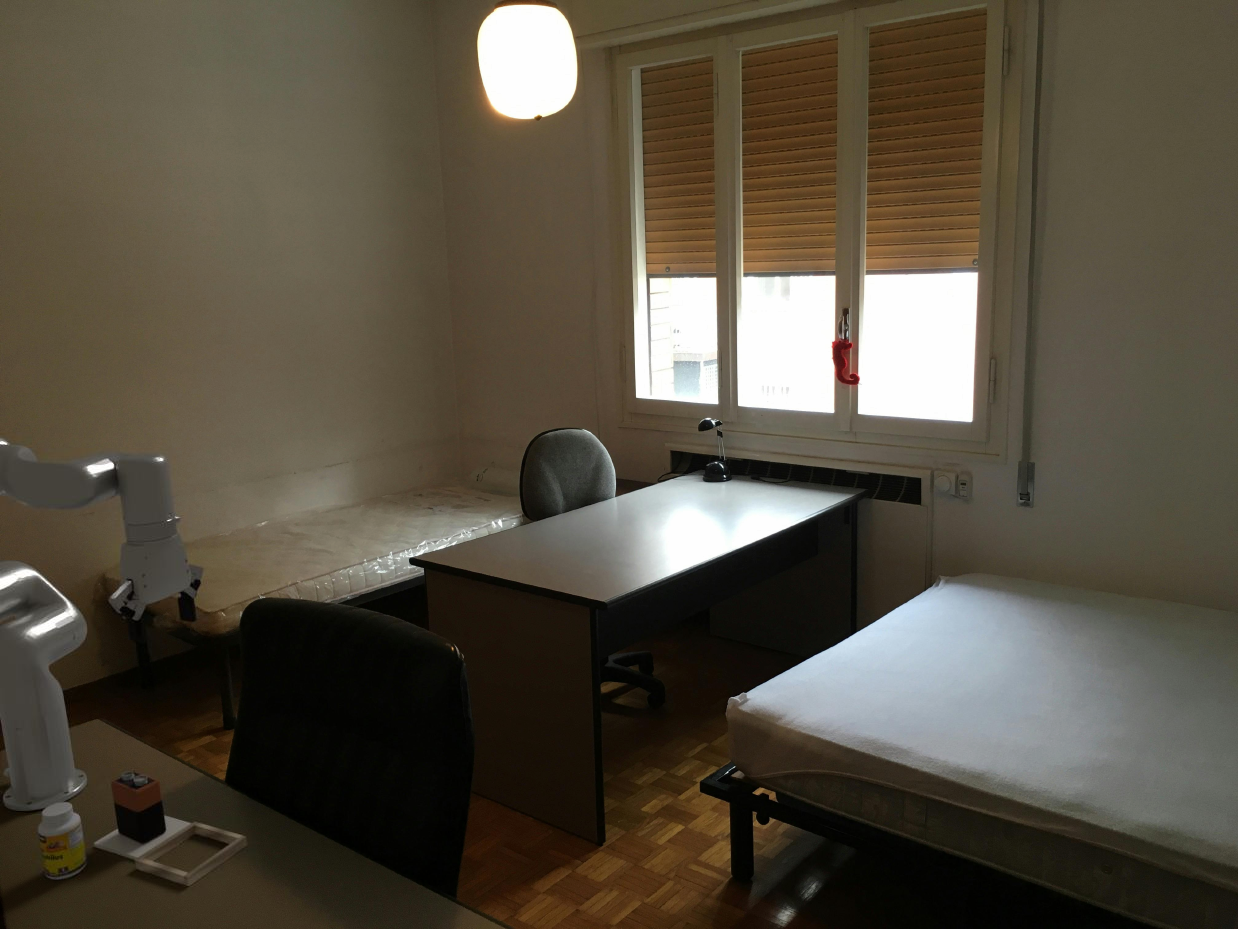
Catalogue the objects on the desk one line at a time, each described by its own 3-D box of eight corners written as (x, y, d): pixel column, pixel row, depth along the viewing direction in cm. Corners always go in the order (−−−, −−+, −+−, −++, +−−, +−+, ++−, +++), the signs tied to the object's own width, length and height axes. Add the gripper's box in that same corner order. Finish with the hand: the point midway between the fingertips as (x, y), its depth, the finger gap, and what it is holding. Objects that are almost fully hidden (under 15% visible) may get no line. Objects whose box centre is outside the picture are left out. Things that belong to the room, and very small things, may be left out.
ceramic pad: (94, 846, 152) (93, 843, 152) (148, 813, 160) (148, 810, 160) (138, 861, 147) (137, 857, 147) (191, 826, 156) (191, 823, 156)
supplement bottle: (36, 878, 144) (26, 816, 142) (67, 857, 149) (57, 796, 147) (65, 884, 142) (55, 821, 140) (96, 862, 147) (86, 801, 145)
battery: (142, 846, 150) (134, 787, 148) (117, 834, 154) (108, 776, 152) (168, 831, 154) (160, 774, 152) (142, 820, 157) (134, 764, 155)
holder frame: (136, 869, 145) (134, 860, 145) (195, 830, 155) (194, 821, 155) (189, 886, 141) (187, 877, 140) (247, 845, 151) (246, 836, 150)
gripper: (178, 515, 165) (190, 610, 168) (86, 542, 150) (101, 646, 153) (210, 519, 162) (222, 616, 165) (119, 546, 146) (134, 653, 150)
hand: (164, 630), depth 159 cm, fingers open, 9 cm apart
